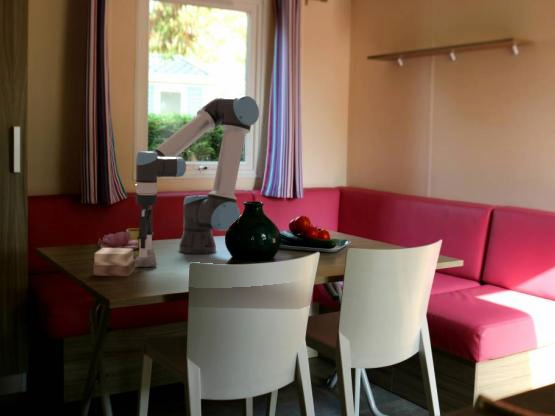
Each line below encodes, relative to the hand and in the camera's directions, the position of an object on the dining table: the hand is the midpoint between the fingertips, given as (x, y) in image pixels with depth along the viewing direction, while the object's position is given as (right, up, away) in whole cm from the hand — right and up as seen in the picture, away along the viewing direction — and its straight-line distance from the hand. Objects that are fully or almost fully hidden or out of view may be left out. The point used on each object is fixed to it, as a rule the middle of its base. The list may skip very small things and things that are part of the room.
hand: (145, 254), depth 266 cm
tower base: (-9, -6, -12) cm, 16 cm away
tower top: (-8, -2, -13) cm, 16 cm away
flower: (-13, -2, +16) cm, 21 cm away
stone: (+1, -4, 0) cm, 4 cm away
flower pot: (-10, +1, +40) cm, 41 cm away
